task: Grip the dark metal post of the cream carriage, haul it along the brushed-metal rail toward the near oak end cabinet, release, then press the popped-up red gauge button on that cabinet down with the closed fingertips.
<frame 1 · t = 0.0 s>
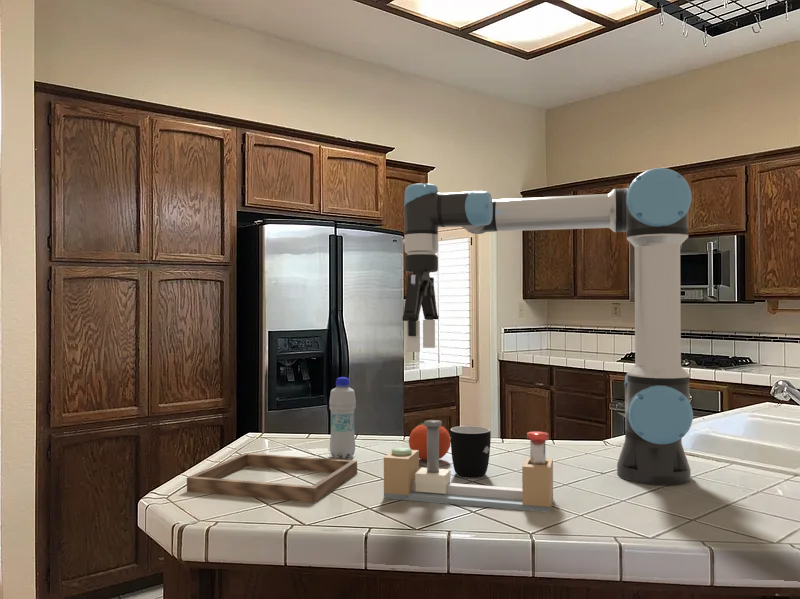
hand: (421, 349, 148), 28 cm above the counter, fingers open, 13 cm apart
bottle: (342, 457, 166), on the counter
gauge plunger: (537, 457, 126), point 9 cm above the counter, slide at 0.0 cm
tomato: (429, 461, 162), on the counter
mug: (471, 474, 150), on the counter
rail: (467, 499, 130), on the counter
carriage: (433, 455, 132), point 8 cm above the counter, slide at 0.0 cm
wooden frame: (276, 481, 143), on the counter
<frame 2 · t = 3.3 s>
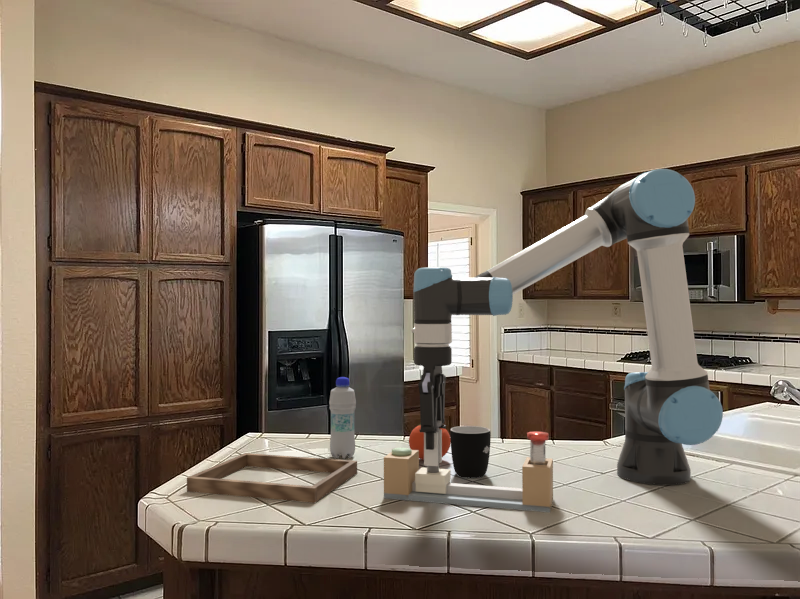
hand: (433, 463, 132), 7 cm above the counter, fingers closed on carriage, 2 cm apart
carriage: (433, 455, 132), point 8 cm above the counter, slide at 0.0 cm, touching gripper
everything else where it was.
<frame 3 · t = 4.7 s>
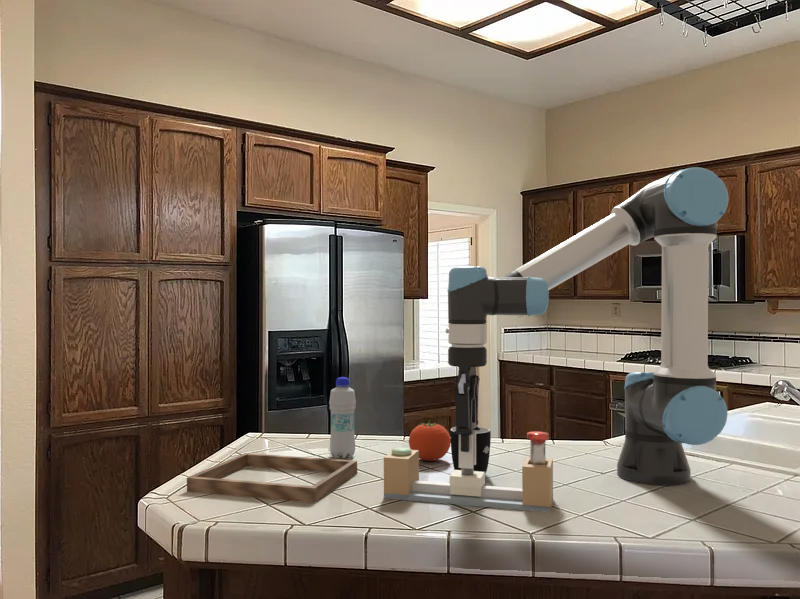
hand: (467, 465, 130), 7 cm above the counter, fingers closed on carriage, 2 cm apart
carriage: (467, 457, 130), point 8 cm above the counter, slide at 7.0 cm, touching gripper
everything else where it was.
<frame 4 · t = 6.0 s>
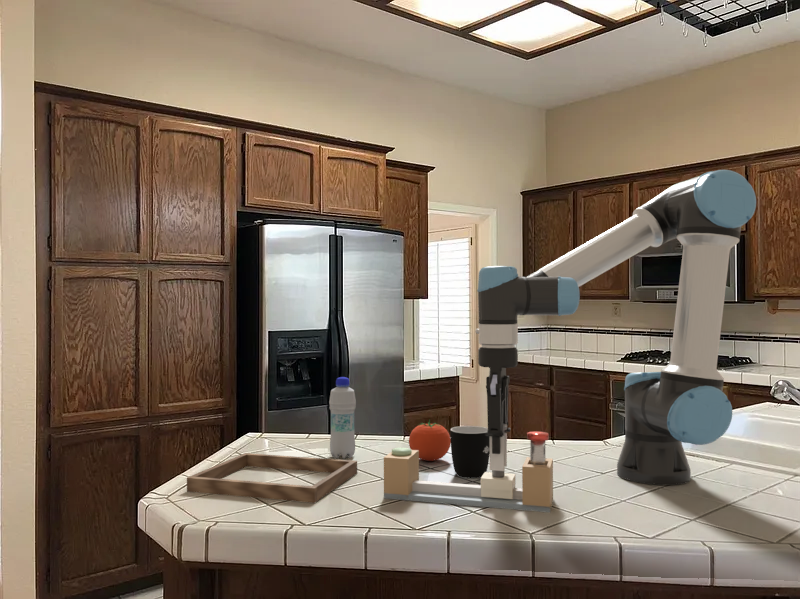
hand: (498, 467, 128), 7 cm above the counter, fingers open, 3 cm apart
carriage: (498, 459, 128), point 8 cm above the counter, slide at 12.9 cm
everything else where it was.
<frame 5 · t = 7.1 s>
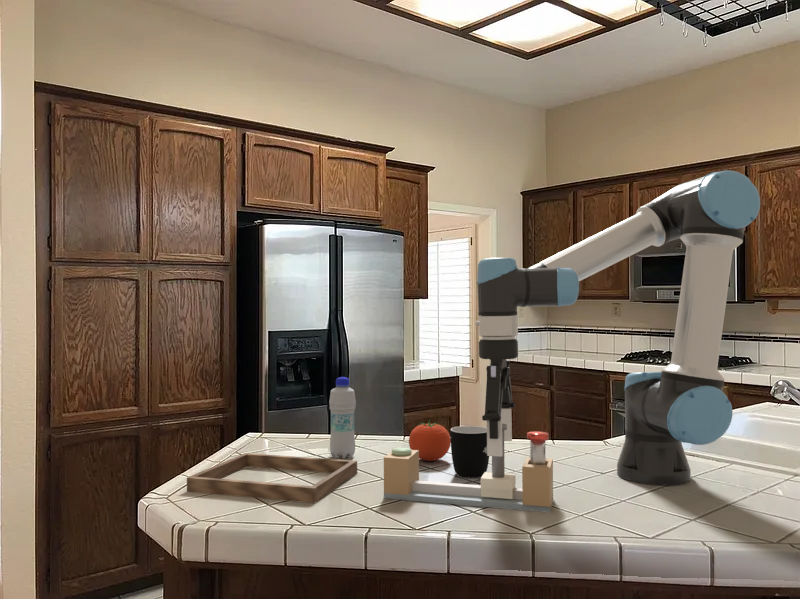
hand: (500, 448, 128), 10 cm above the counter, fingers open, 13 cm apart
nothing on the counter moved.
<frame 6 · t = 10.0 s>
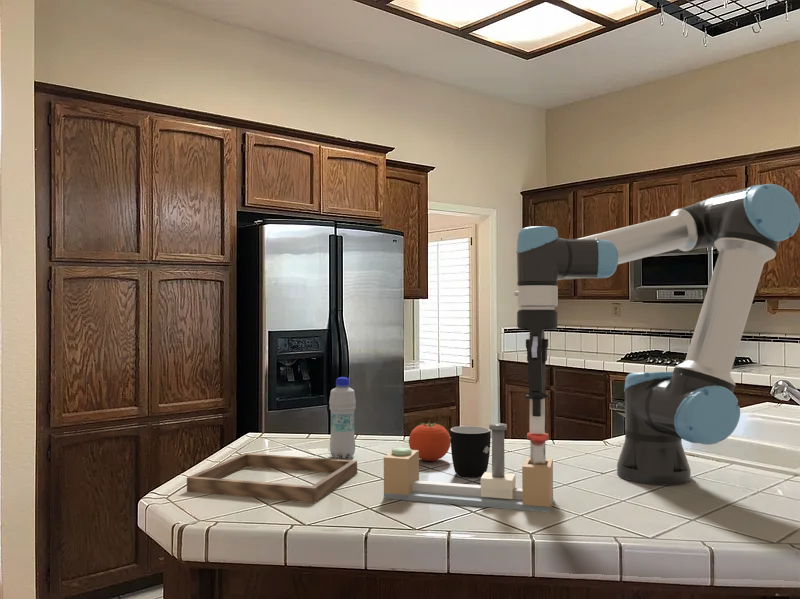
hand: (537, 432, 126), 14 cm above the counter, fingers closed
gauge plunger: (537, 457, 126), point 9 cm above the counter, slide at 0.1 cm, touching gripper
everything else where it was.
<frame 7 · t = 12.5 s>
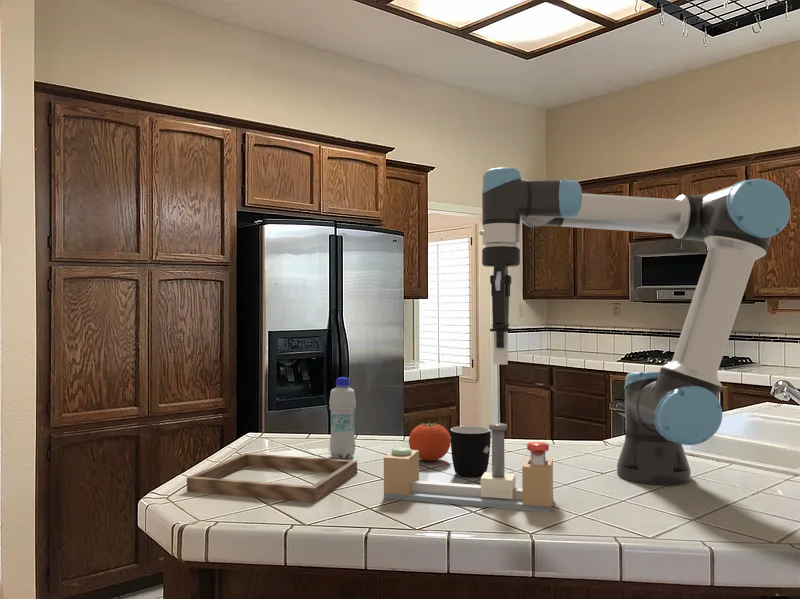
hand: (500, 364, 133), 26 cm above the counter, fingers closed
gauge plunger: (537, 467, 126), point 7 cm above the counter, slide at 2.0 cm
everything else where it was.
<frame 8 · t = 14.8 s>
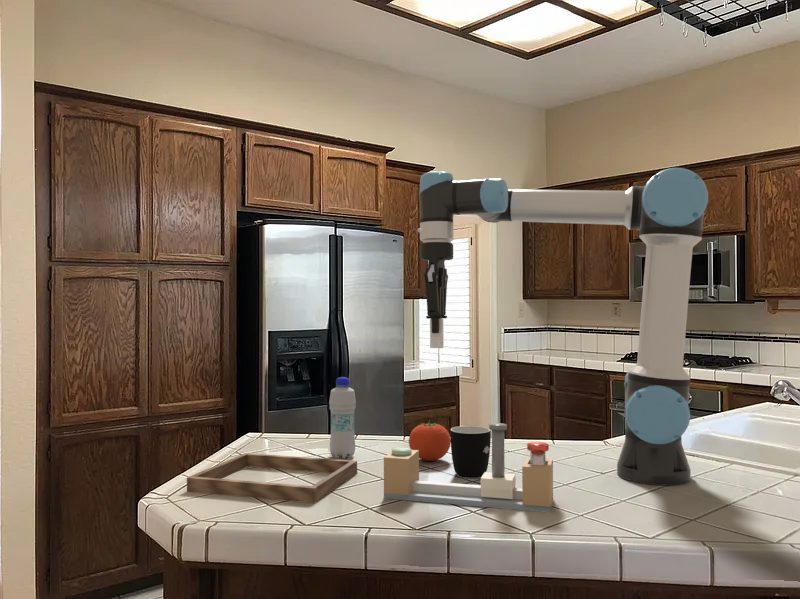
hand: (436, 347, 148), 28 cm above the counter, fingers closed
nothing on the counter moved.
at the end: carriage slide at 12.9 cm; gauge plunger slide at 2.0 cm; the gripper is holding nothing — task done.
